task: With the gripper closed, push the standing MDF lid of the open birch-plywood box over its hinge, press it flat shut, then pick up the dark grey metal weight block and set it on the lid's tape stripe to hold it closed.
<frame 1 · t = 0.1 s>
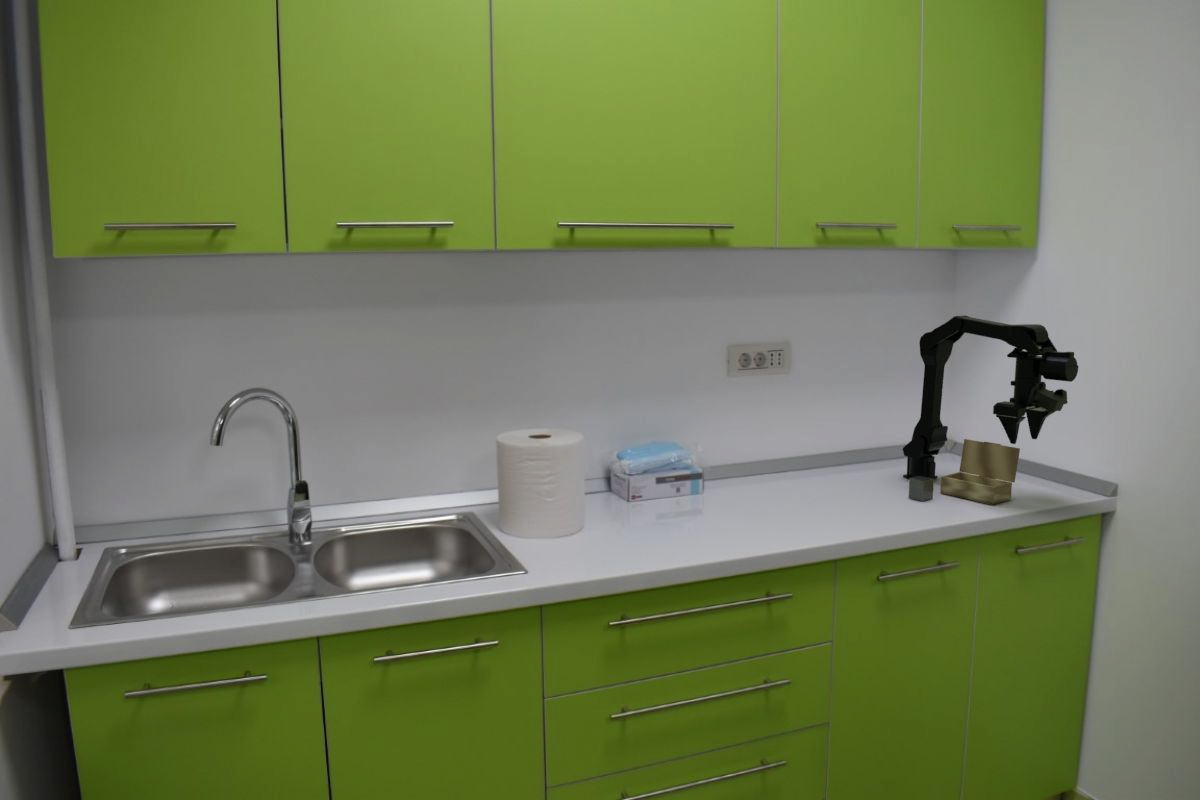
hand: (1023, 441, 210), 14 cm above the worktop, fingers open, 9 cm apart
box: (975, 496, 216), on the worktop
block: (920, 498, 215), on the worktop
lid: (989, 460, 217), point 8 cm above the worktop, hinge at 100.0°
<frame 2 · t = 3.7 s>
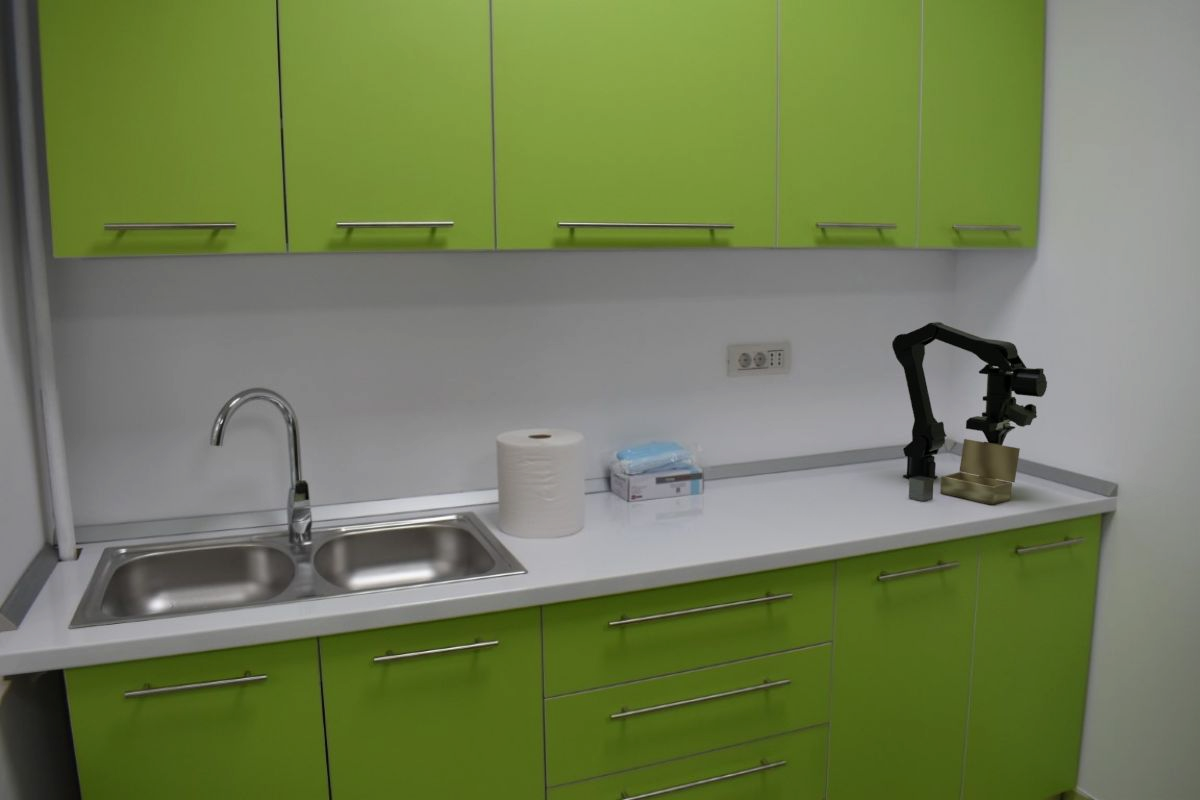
hand: (996, 454, 219), 10 cm above the worktop, fingers closed
lid: (988, 460, 217), point 8 cm above the worktop, hinge at 99.4°, touching gripper
everything else where it was.
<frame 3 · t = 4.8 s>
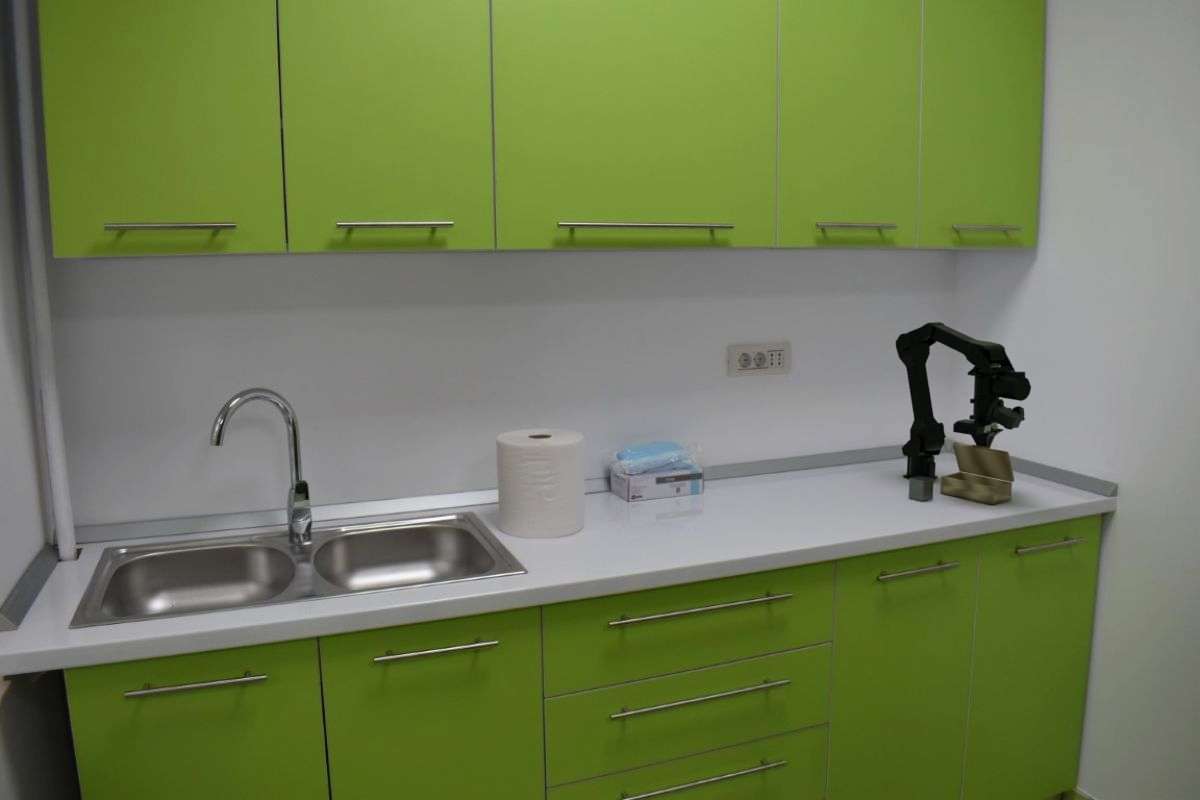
hand: (984, 457, 216), 9 cm above the worktop, fingers closed, pressing on lid
lid: (983, 461, 216), point 8 cm above the worktop, hinge at 64.9°, touching gripper
everything else where it was.
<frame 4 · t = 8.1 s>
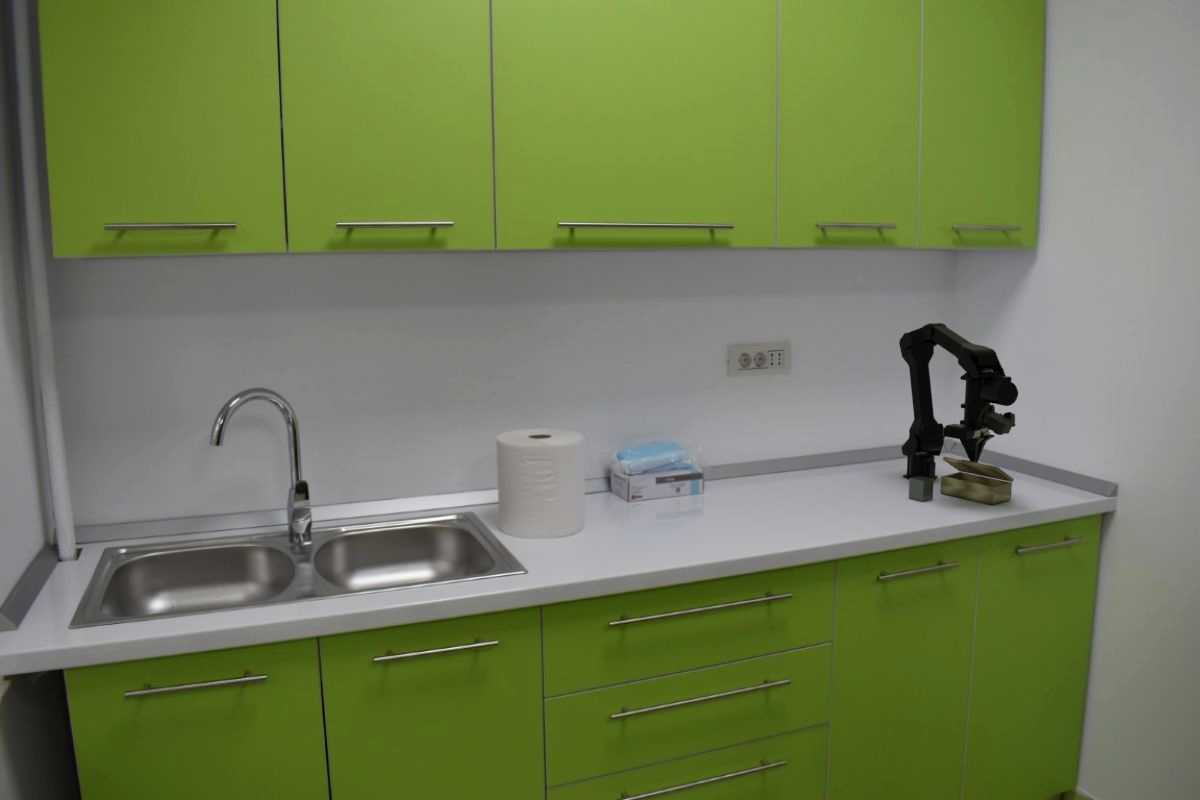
hand: (974, 463, 214), 9 cm above the worktop, fingers closed
lid: (977, 468, 215), point 7 cm above the worktop, hinge at 29.1°, touching gripper
everything else where it was.
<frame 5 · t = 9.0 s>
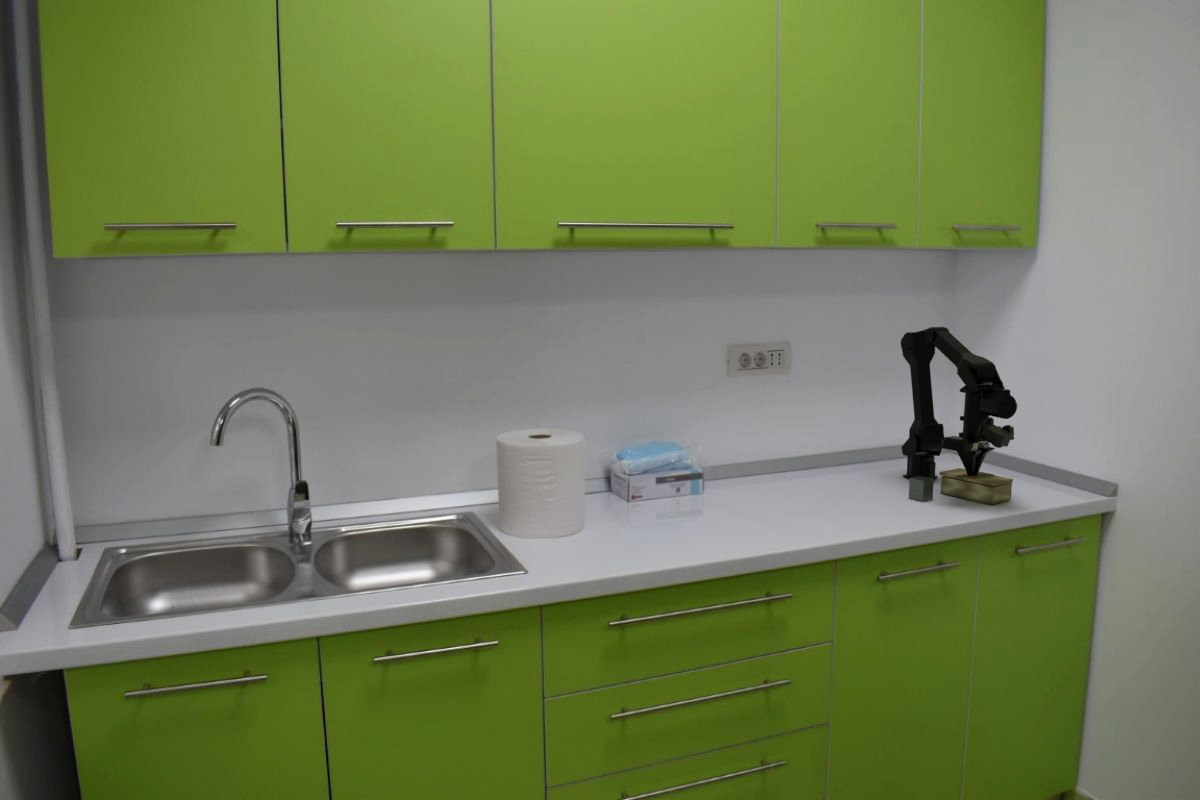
hand: (972, 475, 214), 5 cm above the worktop, fingers closed, pressing on lid
lid: (975, 476, 215), point 5 cm above the worktop, hinge at 1.7°, touching gripper
everything else where it was.
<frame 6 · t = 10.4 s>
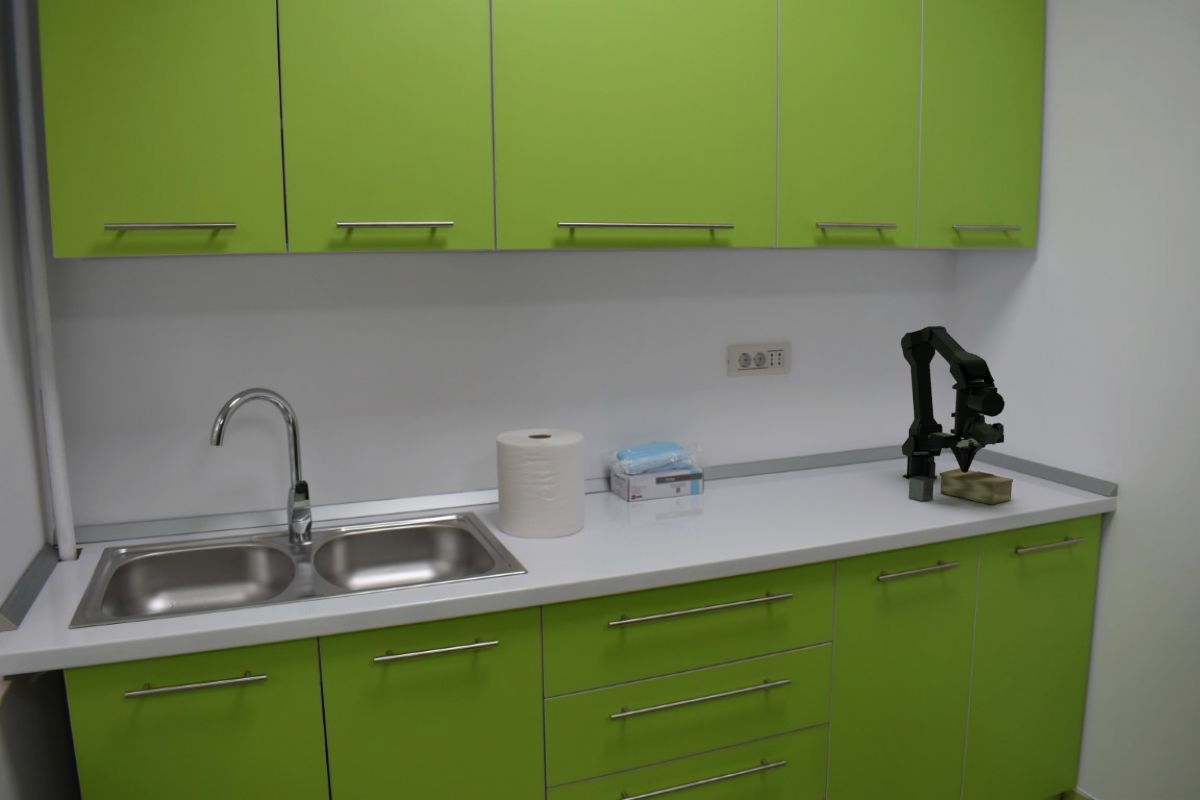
hand: (964, 472, 214), 6 cm above the worktop, fingers closed
lid: (975, 477, 215), point 5 cm above the worktop, hinge at -0.2°
everything else where it was.
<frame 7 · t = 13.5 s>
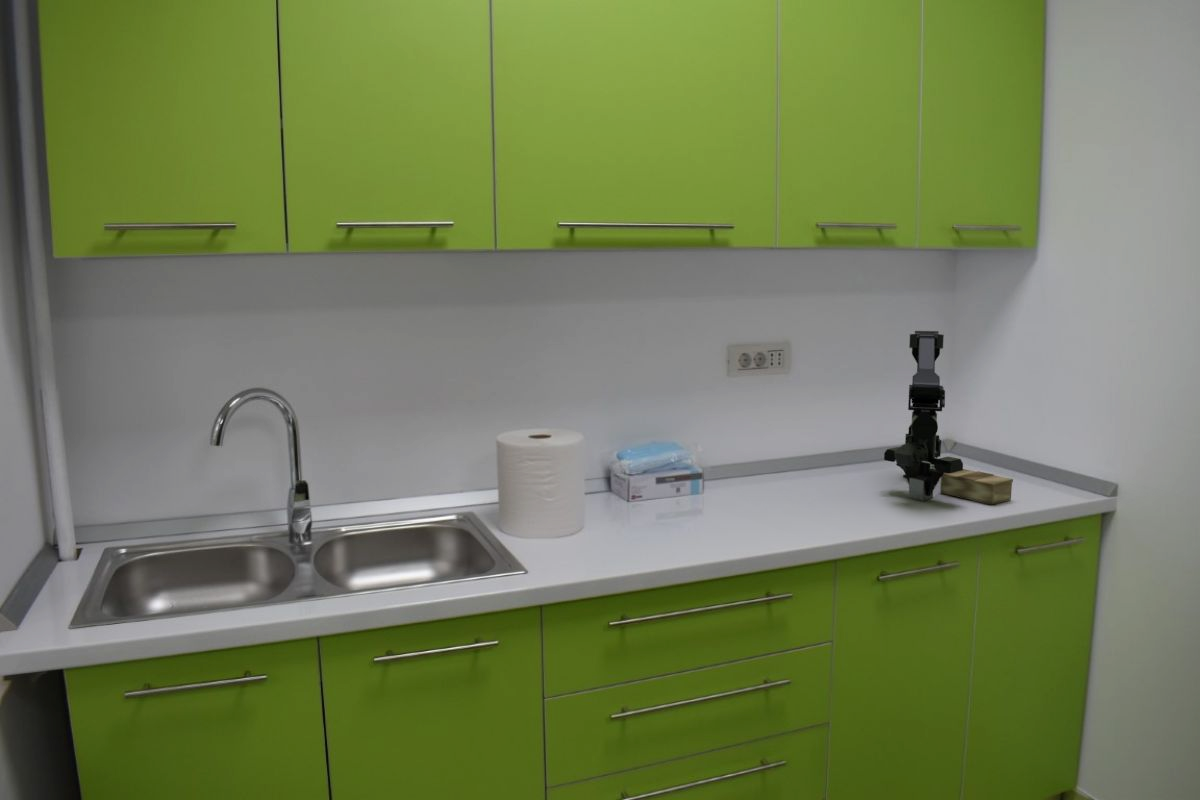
hand: (920, 493, 215), 1 cm above the worktop, fingers closed on block, 4 cm apart
block: (920, 497, 215), on the worktop, touching gripper
everything else where it was.
when the fingers open (7 cm above the worktop, at t = 16.6 s): block stays where it is, resting on lid.
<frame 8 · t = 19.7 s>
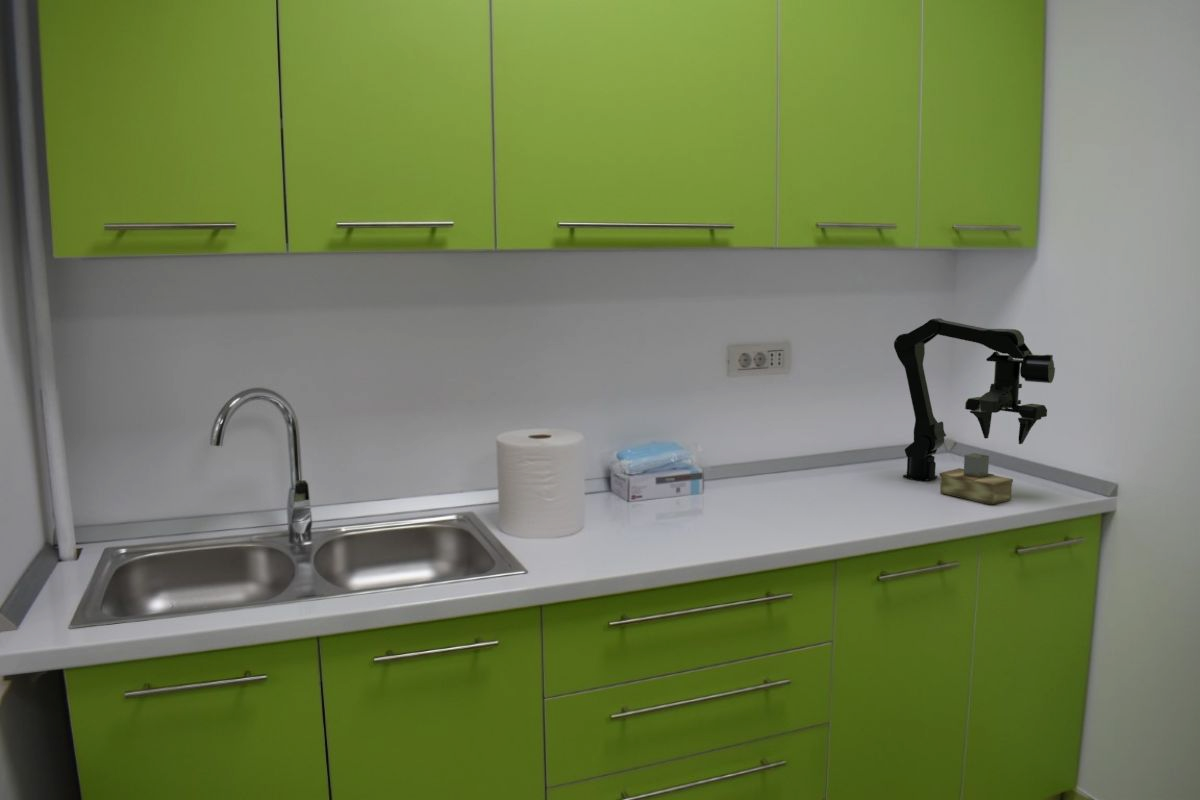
hand: (1003, 441, 220), 12 cm above the worktop, fingers open, 9 cm apart
block: (975, 475, 215), point 5 cm above the worktop, touching lid
lid: (975, 477, 215), point 5 cm above the worktop, hinge at -0.2°, touching block
at the end: lid at +0° (first picture: +100°); block inside the target area on the box (0.1 cm from its centre), point 5.3 cm above the box's base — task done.
